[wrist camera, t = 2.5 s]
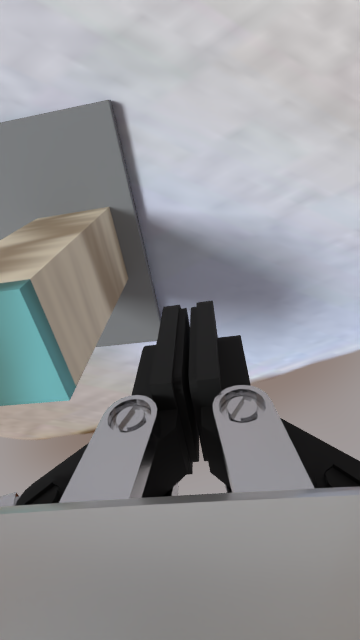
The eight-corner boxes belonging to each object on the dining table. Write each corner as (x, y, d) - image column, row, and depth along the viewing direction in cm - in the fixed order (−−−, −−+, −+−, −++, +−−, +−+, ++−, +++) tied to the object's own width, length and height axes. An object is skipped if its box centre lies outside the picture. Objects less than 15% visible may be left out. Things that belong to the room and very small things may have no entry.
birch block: (109, 206, 21) (19, 288, 11) (128, 278, 24) (69, 400, 13) (36, 218, 22) (-112, 306, 12) (62, 287, 24) (-41, 409, 14)
